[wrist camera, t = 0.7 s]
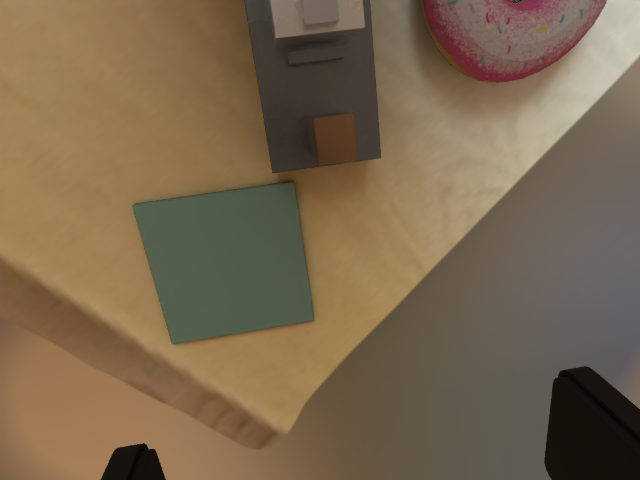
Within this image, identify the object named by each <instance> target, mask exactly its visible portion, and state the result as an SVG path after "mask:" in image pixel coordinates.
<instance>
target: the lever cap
mask: <svg viewBox="0 0 640 480" xmlns="http://www.w3.org/2000/svg"><path fill="white" fill-rule="evenodd" d="M268 1H269V8H270V14H271V21H272V28H273V35H274V42H275V49H282V48H290V47H298V46H306V45H315V44H323V43H331V42H339V41H347V40H351V39H352V38H353V37H355V36H356V35H357V34H358V33H359V32H360V31H361V30H363V29H364V28H365V22H364V9H363V0H268Z"/></svg>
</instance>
